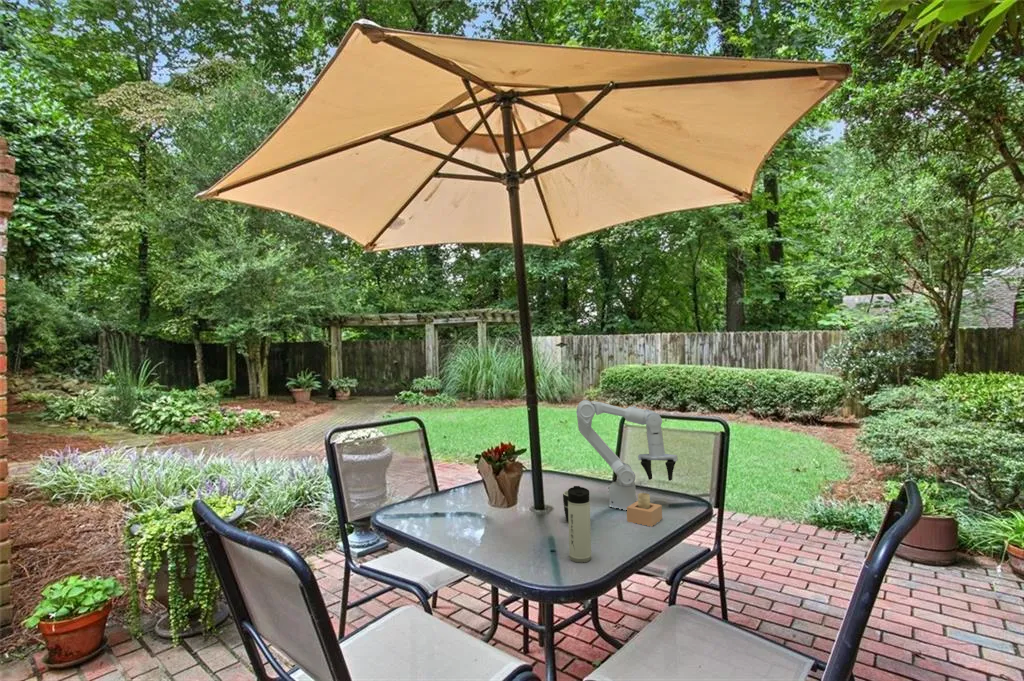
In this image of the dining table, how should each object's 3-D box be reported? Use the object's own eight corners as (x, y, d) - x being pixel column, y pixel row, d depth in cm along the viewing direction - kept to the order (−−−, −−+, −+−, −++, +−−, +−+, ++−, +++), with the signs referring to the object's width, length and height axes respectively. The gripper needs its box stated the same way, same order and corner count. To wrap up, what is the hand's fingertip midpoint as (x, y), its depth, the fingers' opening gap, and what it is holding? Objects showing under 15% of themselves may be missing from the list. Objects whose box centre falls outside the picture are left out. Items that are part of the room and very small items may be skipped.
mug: (559, 519, 175) (559, 490, 175) (583, 516, 177) (582, 488, 177) (573, 531, 163) (572, 500, 163) (597, 527, 166) (597, 497, 166)
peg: (636, 518, 171) (635, 495, 171) (641, 515, 174) (640, 492, 174) (647, 520, 169) (646, 496, 169) (652, 517, 172) (651, 494, 172)
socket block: (627, 521, 171) (626, 507, 171) (637, 514, 178) (637, 500, 178) (651, 527, 165) (651, 512, 165) (662, 519, 172) (661, 505, 172)
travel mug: (588, 552, 146) (586, 485, 146) (593, 562, 139) (591, 491, 139) (567, 553, 145) (566, 486, 146) (571, 563, 139) (569, 492, 139)
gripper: (633, 445, 186) (638, 481, 186) (671, 446, 178) (676, 483, 178) (640, 441, 192) (644, 476, 192) (677, 441, 184) (682, 478, 183)
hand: (660, 479), depth 185 cm, fingers open, 7 cm apart
